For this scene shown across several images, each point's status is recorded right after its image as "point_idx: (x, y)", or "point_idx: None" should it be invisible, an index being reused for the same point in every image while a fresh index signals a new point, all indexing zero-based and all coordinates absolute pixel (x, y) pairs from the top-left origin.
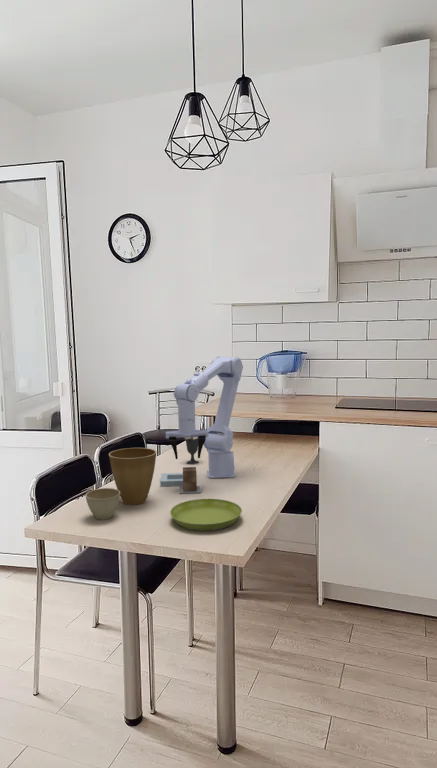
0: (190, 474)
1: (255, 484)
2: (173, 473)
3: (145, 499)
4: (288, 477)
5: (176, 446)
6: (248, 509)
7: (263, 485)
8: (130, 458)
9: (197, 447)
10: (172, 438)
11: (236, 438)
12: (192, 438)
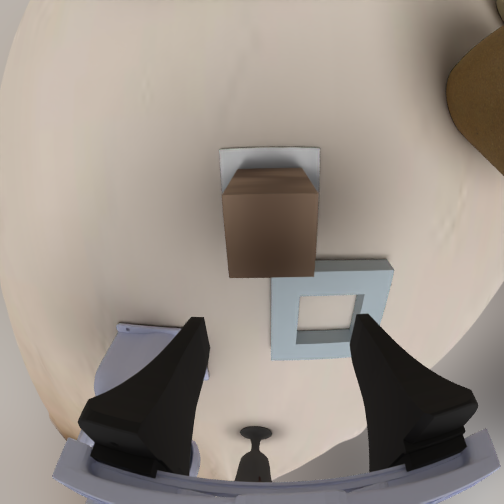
0: (265, 188)
1: (49, 248)
2: (328, 355)
3: (451, 73)
4: (10, 293)
5: (398, 377)
6: (67, 2)
7: (31, 236)
8: None
9: (239, 465)
10: (439, 445)
11: None
12: None
